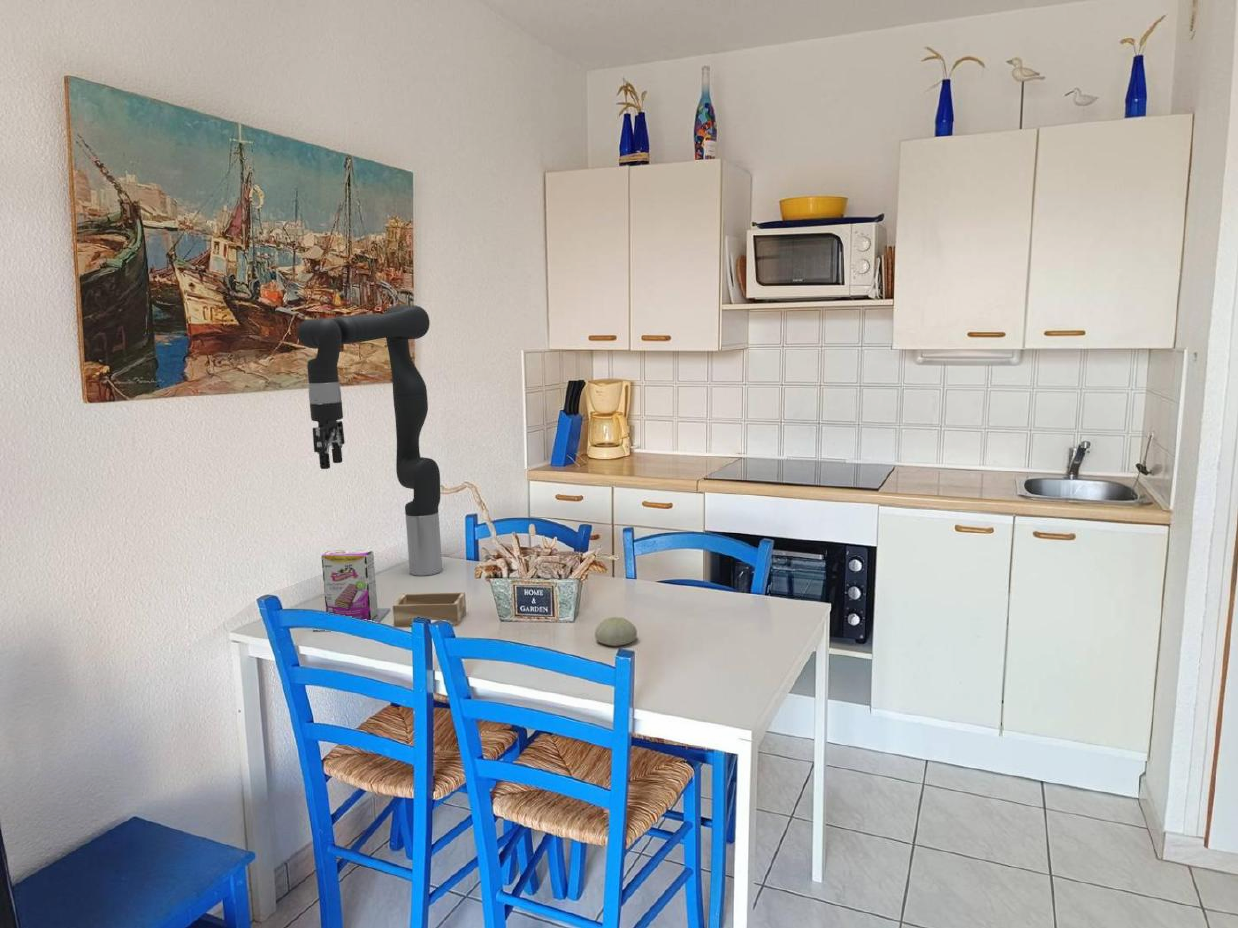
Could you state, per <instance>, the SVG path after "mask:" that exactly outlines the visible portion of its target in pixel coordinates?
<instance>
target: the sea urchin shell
mask: <svg viewBox="0 0 1238 928" xmlns="http://www.w3.org/2000/svg"><path fill="white" fill-rule="evenodd" d="M637 633H638V632H637V629H636V626H635V625H634V624H633V623H632V622H631V621H630V620H628V619H626V618H623V617H619V616H617V617H616V616H611V617H608V618H606V619H604V620H602V622H600V623H599V624H598V625H597V626H596V629H595V632H594V635H595V636H594V637H595V639H596V641H597V642H598V643H601V644H602V645H606V646H611V647H618V646H624V645H629V644H631V643H633V642H634V641H635V640H636V639H637Z"/></svg>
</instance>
